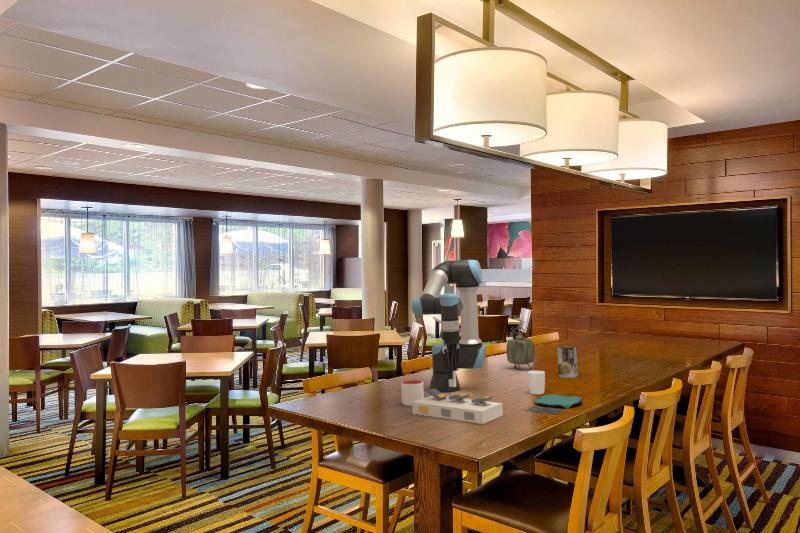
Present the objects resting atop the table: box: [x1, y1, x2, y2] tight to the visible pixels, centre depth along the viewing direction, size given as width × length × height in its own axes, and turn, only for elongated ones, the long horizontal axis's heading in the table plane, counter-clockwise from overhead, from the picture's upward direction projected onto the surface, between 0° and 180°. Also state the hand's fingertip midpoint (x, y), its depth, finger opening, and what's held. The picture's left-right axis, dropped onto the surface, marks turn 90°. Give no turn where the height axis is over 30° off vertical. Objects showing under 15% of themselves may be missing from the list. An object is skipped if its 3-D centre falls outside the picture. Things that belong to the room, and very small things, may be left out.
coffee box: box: [556, 345, 579, 379], centre depth 329 cm, size 9×6×16 cm
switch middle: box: [448, 393, 470, 400], centre depth 254 cm, size 7×5×1 cm
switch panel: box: [411, 395, 504, 425], centre depth 252 cm, size 34×16×6 cm, turn 52°
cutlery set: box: [524, 394, 583, 415], centre depth 262 cm, size 20×30×2 cm, turn 142°
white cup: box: [527, 370, 546, 395], centre depth 289 cm, size 8×8×10 cm
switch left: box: [426, 388, 448, 400], centre depth 261 cm, size 7×5×1 cm
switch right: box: [471, 395, 493, 403], centre depth 247 cm, size 7×5×1 cm
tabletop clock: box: [506, 326, 536, 371], centre depth 356 cm, size 14×9×25 cm, turn 46°
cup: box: [400, 379, 425, 407], centre depth 275 cm, size 10×10×10 cm
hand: (452, 386), depth 256 cm, fingers closed
